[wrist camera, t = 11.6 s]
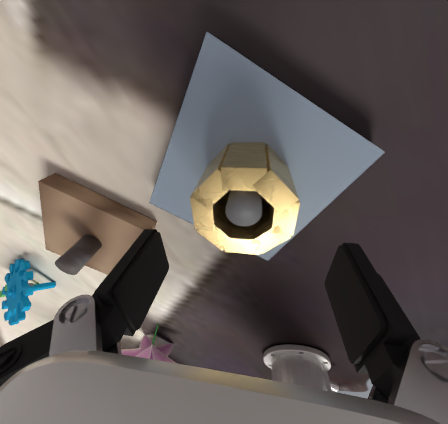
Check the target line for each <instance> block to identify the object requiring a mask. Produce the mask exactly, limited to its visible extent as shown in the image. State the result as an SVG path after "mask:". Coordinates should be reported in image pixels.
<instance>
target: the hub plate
mask: <svg viewBox="0 0 448 424" xmlns="http://www.w3.org/2000/svg"><path fill="white" fill-rule="evenodd" d="M231 142H265V145H266V144H268V145H269V146H270V147H271V148H272V149H273V150H274V151H275V153H276V154H277V155H278V156H279V157H280V158H281V159H282V160H283V161H284V162H285V164H286V165H287V166H288V167H289V170H290V173H291V176H292V179H293V182H294V185H295V188H296V191H297V194H298V197H299V201H300V206H299V211H298V215H297V220H296V224H295V229H294V233H293V235H291V238H290V239H288V240H286V241H284V242H282V243H281V244H279V245H277V246H275V247H274V248H272V249H270V250H268V251H266V252H265V253H263V254H261V253H260V252H259V255H257V254H255V255H257V256H259V257H261V258H263V259H265V260H267V261H268V260H269V259H270V258H271V257H273V256H274V255H275V254H276V253H277V252H278V251H279V250H280V249H281V248H282V247H283V246H284V245H285V244H287V243H288V242H289V241H290V240H291V239H292V238H293V237H294V236H295V235H296V234H297V233H298V232H300V231H301V230H302V229H303V228H304V227H305V226H306V225H307V224H308V223H309V222H310V221H311V220H312V219H314V218H315V217H316V216H317V215H318V214H319V213H320V212H321V211H322V210H323V209H324V208H325V207H326V206H328V205H329V204H330V203H331V202H332V201H333V200H334V199H335V198H336V197H337V196H338V195H339V194H340V193H342V192H343V191H344V190H345V189H346V188H347V187H348V186H349V185H350V184H351V183H352V182H353V181H354V180H356V179H357V178H358V177H359V176H360V175H361V174H362V173H363V172H364V171H365V170H366V169H367V168H368V167H370V166H371V165H372V164H373V163H374V162H375V161H376V160H377V159H378V158H379V157H380V156H381V155H382V154H384V153H385V152H384V151H383V150H381V149H380V148H378V147H377V146H375V145H374V144H372V143H371V142H370V141H368V140H367V139H365V138H364V137H362V136H361V135H359V134H358V133H356V132H355V131H353V130H352V129H350V128H349V127H347V126H346V125H344V124H343V123H341V122H340V121H338V120H337V119H336V118H334V117H333V116H331V115H330V114H328V113H327V112H325V111H324V110H322V109H321V108H319V107H318V106H316V105H315V104H313V103H312V102H310V101H309V100H307V99H306V98H304V97H303V96H302V95H300V94H299V93H297V92H296V91H294V90H293V89H291V88H290V87H288V86H287V85H285V84H284V83H282V82H281V81H279V80H278V79H276V78H275V77H273V76H272V75H270V74H269V73H268V72H266V71H265V70H263V69H262V68H260V67H259V66H257V65H256V64H254V63H253V62H251V61H250V60H248V59H247V58H245V57H244V56H242V55H241V54H239V53H238V52H236V51H235V50H234V49H232V48H231V47H229V46H228V45H226V44H225V43H223V42H222V41H220V40H219V39H217V38H216V37H214V36H213V35H211V34H210V33H208V32H206V35H205V38H204V41H203V44H202V47H201V50H200V53H199V56H198V59H197V62H196V65H195V68H194V71H193V74H192V77H191V80H190V83H189V86H188V89H187V92H186V95H185V98H184V101H183V104H182V107H181V110H180V113H179V116H178V119H177V122H176V125H175V128H174V131H173V134H172V137H171V140H170V143H169V146H168V149H167V152H166V155H165V158H164V161H163V164H162V167H161V170H160V173H159V176H158V179H157V182H156V185H155V188H154V191H153V193H152V196H151V199H150V202H149V203H151V204H153V205H155V206H157V207H159V208H161V209H163V210H165V211H167V212H169V213H171V214H173V215H175V216H177V217H179V218H181V219H183V220H185V221H187V222H189V223H191V224H194V221H193V214H192V208H191V202H190V197H191V194H192V192H193V190H194V189H195V187H196V185H197V183H198V182H199V180H200V178H201V176H202V175H203V173H204V171H205V169H206V168H207V166H208V165H209V164H210V162H211V161H212V160H213V159H214V158H215V157H216V156H217V155H218V154H219V153H220V152H221V151H222V150H223V149H224V148H225V147H226V146H227V145H228V143H229V144H231ZM228 193H229V197H228V201H227V205H226V209H225V212H226V216H227V218H228V219H229V220H230V221H231V222H232V223H234V224H236V225H238V226H251V225H253V224H255V223H257V222H258V221H259V220H260V218H261V216H262V196H261V195H260V194H259V193H258V192H257V191H236V190H229V191H228Z"/></svg>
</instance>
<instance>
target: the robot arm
mask: <svg viewBox="0 0 448 424" xmlns="http://www.w3.org/2000/svg"><path fill="white" fill-rule="evenodd" d="M168 270H169V264H168V260H167V256H166V253H165V249H164V246H163V242H162V239H161V235H160V233H159V232H157V230H155V229H145V230H143V232H142V233H141V234H140V235H139V237H138V238H137V239H136V240H135V242H134V243H133V244H132V245H131V247H130V248H129V249H128V250H127V252H126V253H125V254H124V255H123V257H122V258H121V259H120V261H119V262H118V263H117V264H116V266H115V267H114V268H113V269H112V271H111V272H110V273H109V274H108V276H107V277H106V278H105V279H104V281H103V282H102V283H101V284H100V286H99V287H98V288H97V289H96V291H95V293H94V294H93V295H92V296H90V295H80V296H77V297H75V298H73V299H71V300H69V301H68V302H66V303H65V304H64V305H63V306H62V307H61V308H60V309H59V310H58V312H57V313H56V315H55V318H54V320H52V321H50V322H48V323H46V324H44V325H42V326H40V327H38V328H36V329H34V330H32V331H30V332H28V333H26V334H24V335H22V336H20V337H18V338H16V339H14V340H12V341H10V342H8V343H6V344H4V345H3V346H1V347H0V424H448V349H447V348H446V347H444V346H442V345H440V344H438V343H436V342H434V341H430V340H427V339H420V337H419V336H418V334H417V333H416V331H415V329H414V328H413V326H412V325H411V323H410V321H409V320H408V318H407V317H406V315H405V314H404V312H403V310H402V309H401V307H400V306H399V304H398V302H397V301H396V299H395V298H394V296H393V295H392V293H391V291H390V290H389V288H388V287H387V285H386V284H385V282H384V280H383V279H382V277H381V276H380V275H379V274H377V272H376V271H375V269H374V268H373V266H372V264H371V263H370V261H369V260H368V258H367V256H366V255H365V253H364V251H363V250H362V248H361V247H360V245H359V244H355V243H343V244H342V246H341V245H340V246H339V247H338V249H337V252H336V254H335V257H334V259H333V262H332V264H331V267H330V270H329V272H328V275H327V277H326V280H325V287H326V290H327V294H328V297H329V300H330V303H331V306H332V309H333V312H334V315H335V318H336V321H337V324H338V327H339V331H340V334H341V337H342V340H343V343H344V346H345V349H346V352H347V355H348V358H349V360H350V362H351V363H352V364H354V365H355V368H356V371H357V373H363V374H369V377H370V380H371V382H372V384H373V387H372V389H371V392H370V394H369V397H368V399H366V398H361V397H356V396H351V395H346V394H341V393H336V392H335V391H338V390H339V386H338V384H337V383H336V382H333V381H330V380H329V378H328V374H327V371H329V369H330V368H331V363H330V359H329V357H328V356H327V355H326V354H325V353H323V352H322V351H320V350H318V349H315V348H312V347H308V346H303V345H294V344H285V345H277V346H273V347H270V348H268V349H267V350H266V351H265V352H264V355H263V358H264V363H265V364H266V365H267V366H268V367H269V368H271V369H272V380H266V379H261V378H255V377H250V376H244V375H239V374H233V373H227V372H222V371H216V370H210V369H205V368H199V367H194V366H188V365H182V364H176V363H171V362H165V361H159V360H153V359H147V358H142V357H136V356H129V355H122V353H121V345H120V340H121V338H122V336H123V335H128V336H133V335H134V333H135V331H136V330H138V329H139V328H140V327H141V325H142V323H143V321H144V319H145V317H146V315H147V313H148V311H149V309H150V307H151V305H152V303H153V301H154V299H155V297H156V295H157V292H158V290H159V288H160V286H161V284H162V282H163V280H164V278H165V276H166V274H167V272H168Z"/></svg>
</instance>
